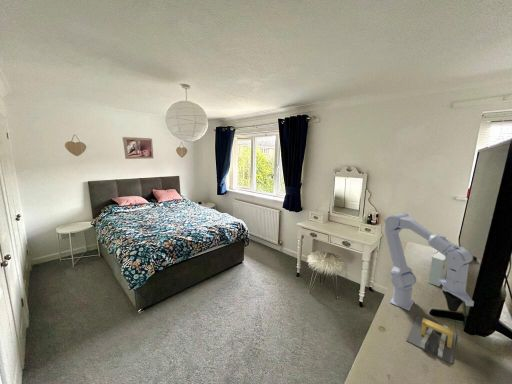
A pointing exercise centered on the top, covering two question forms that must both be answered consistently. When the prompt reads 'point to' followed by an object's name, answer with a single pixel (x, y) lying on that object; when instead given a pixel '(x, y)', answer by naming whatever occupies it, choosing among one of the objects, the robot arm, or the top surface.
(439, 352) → the tongs fixed
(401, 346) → the top surface
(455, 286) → the robot arm
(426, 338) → the tong arm
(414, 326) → the mat
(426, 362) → the top surface
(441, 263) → the skincare box
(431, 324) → the yellow arch block
